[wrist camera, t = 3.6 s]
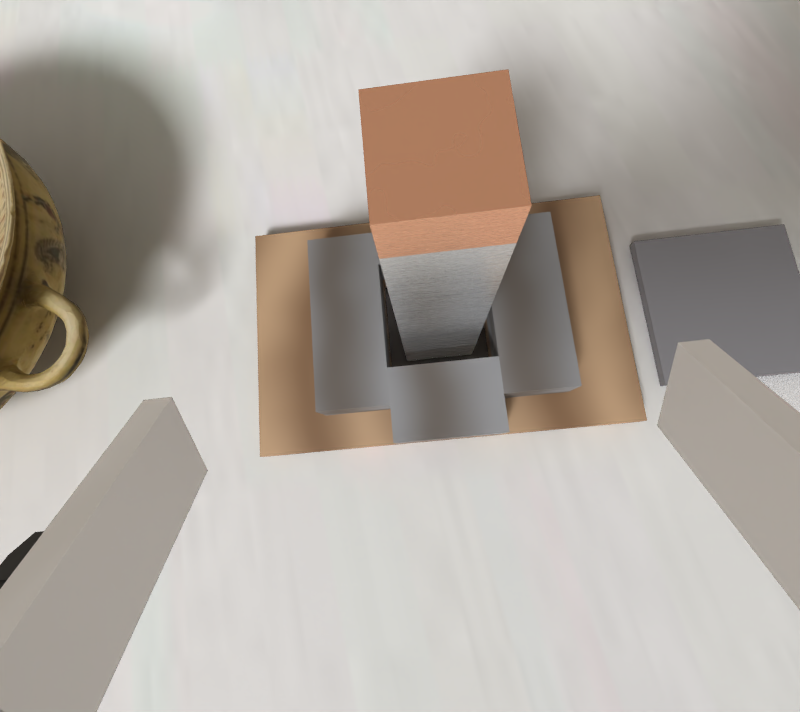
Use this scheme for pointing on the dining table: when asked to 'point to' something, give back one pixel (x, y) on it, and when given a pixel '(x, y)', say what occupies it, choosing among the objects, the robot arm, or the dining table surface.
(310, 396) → the board
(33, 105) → the dining table surface
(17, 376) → the ceramic bowl
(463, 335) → the grey orange-ended block
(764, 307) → the pad
